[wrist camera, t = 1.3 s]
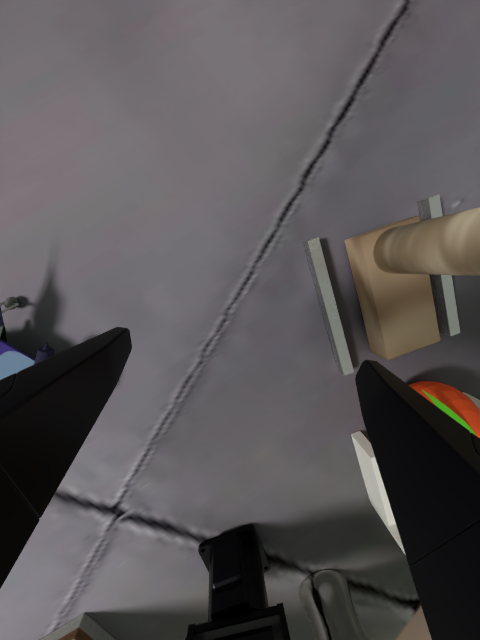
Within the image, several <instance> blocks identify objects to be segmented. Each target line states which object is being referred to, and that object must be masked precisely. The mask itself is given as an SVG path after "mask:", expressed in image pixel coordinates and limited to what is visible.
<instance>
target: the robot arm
mask: <svg viewBox="0 0 480 640" xmlns="http://www.w3.org/2000/svg"><path fill="white" fill-rule="evenodd" d="M131 349H132V344H131V337H130V331H129V329H127V328H122V327H116V328H114V329H111V330H109V331H107V332H105V333H103V334H100V335H98V336H96V337H94V338H92V339H89V340H87V341H85V342H83V343H81V344H78V345H76V346H74V347H72V348H69V349H67V350H65V351H63V352H61V353H58V354H56V355H54V356H52V357H50V358H47V359H45V360H43V361H41V362H39V363H36V364H34V365H32V366H30V367H27V368H25V369H23V370H21V371H19V372H17V374H16V373H14V374H12V375H10V376H8V377H5V378H3V379H1V380H0V588H1V587H2V585H3V583H4V581H5V580H6V578H7V576H8V574H9V573H10V571H11V569H12V567H13V566H14V564H15V562H16V560H17V559H18V557H19V555H20V553H21V552H22V550H23V548H24V546H25V545H26V543H27V541H28V539H29V538H30V536H31V534H32V532H33V531H34V529H35V527H36V525H37V524H38V522H39V518H41V516H42V515H43V513H44V511H45V509H46V508H47V506H48V504H49V502H50V501H51V499H52V497H53V495H54V494H55V492H56V490H57V488H58V487H59V485H60V483H61V481H62V480H63V478H64V476H65V474H66V473H67V471H68V469H69V467H70V466H71V464H72V462H73V460H74V459H75V457H76V455H77V453H78V452H79V450H80V448H81V446H82V445H83V443H84V441H85V439H86V438H87V436H88V434H89V432H90V431H91V429H92V427H93V425H94V424H95V422H96V420H97V418H98V417H99V415H100V413H101V411H102V410H103V408H104V406H105V404H106V403H107V401H108V399H109V397H110V396H111V394H112V392H113V390H114V388H115V387H116V385H117V382H118V380H119V378H120V376H121V373H122V371H123V369H124V366H125V364H126V362H127V359H128V357H129V355H130V352H131ZM355 380H356V386H357V391H358V396H359V402H360V407H361V412H362V416H363V420H364V423H365V427H366V430H367V433H368V436H369V439H370V443H371V446H372V449H373V452H374V455H375V459H376V462H377V465H378V468H379V471H380V475H381V478H382V481H383V484H384V487H385V491H386V494H387V497H388V500H389V503H390V507H391V510H392V513H393V516H394V519H395V522H396V526H397V529H398V532H399V535H400V538H401V542H402V545H403V548H404V551H405V554H406V558H407V561H408V564H409V565H410V567H409V568H410V571H411V574H412V577H413V581H414V584H415V587H416V590H417V593H418V597H419V600H420V603H421V606H422V609H423V613H424V616H425V619H426V622H427V625H428V628H429V632H430V635H431V638H432V640H480V438H478V437H477V436H476V435H474V434H473V433H470V431H469V430H468V429H466V428H465V427H464V426H462V425H461V424H460V423H458V422H457V421H456V420H454V419H453V418H452V417H450V416H449V415H448V414H446V413H445V412H444V411H442V410H441V409H440V408H438V407H437V406H436V405H434V404H433V403H432V402H430V401H429V400H428V399H426V398H425V397H424V396H422V395H421V394H419V393H418V392H417V391H415V390H414V389H413V388H411V387H410V386H409V385H407V384H406V383H405V382H403V381H402V380H401V379H399V378H398V377H397V376H395V375H394V374H393V373H391V372H390V371H389V370H387V369H386V368H385V367H383V366H382V365H381V364H379V363H378V362H377V361H372V360H364V361H363V363H362V364H361V366H360V368H359V370H358V372H357V374H356V379H355ZM198 551H199V554H200V556H201V558H202V560H203V562H204V564H205V566H206V568H207V570H208V572H209V606H208V622H205V623H201V624H196V625H195V623H194V624H190V625H189V627H188V633H187V637H186V639H185V640H290V636H289V631H288V626H287V621H286V617H285V612H284V607H283V603H279V604H277V606H273V607H269V606H268V599H267V593H266V586H265V580H264V572H267V571H269V570H270V562H269V560H268V558H267V555H266V553H265V551H264V548H263V546H262V544H261V541H260V539H259V537H258V534H257V532H256V530H255V527H254V526H253V525H249V526H246V527H243V528H241V529H238V530H236V531H233V532H230V533H228V534H225V535H222V536H220V537H217V538H214V539H212V540H209V541H207V542H204V543H201V544H200V545H199V550H198Z"/></svg>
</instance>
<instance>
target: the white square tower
mask: <svg viewBox="0 0 480 640" xmlns="http://www.w3.org/2000/svg"><path fill="white" fill-rule="evenodd" d="M40 640H116V639H114V638H113V637H112V636H111V635H110V634H109V633H107V632H106V631H105V630H104V629H103V628H102V627H100V626H99V625H98V624H97V623H96V622H95V621H93V620H92V619H91V618H90V617H89V616H88V615H86V614H85V613H83V614H81V615H80V616H78V617H76V618H75V619H73V620H71V621H70V622H68V623H67V624H65V625H63V626H62V627H60V628H58V629H57V630H55V631H53V632H52V633H50V634H48V635H47V636H45V637H44V638H42V639H40Z"/></svg>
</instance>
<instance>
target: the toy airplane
mask: <svg viewBox="0 0 480 640" xmlns="http://www.w3.org/2000/svg"><path fill="white" fill-rule="evenodd" d="M3 304H5V307H6V308H7V309H5V310H3V311H1V307H0V380H1V379H3V378H5V377H8V376H10V375H12V374H14V373H16V374H17V372H19V371H21V370H23V369H25V368H27V367H30V366H32V365H34V364H36V363H39V362H41V361H43V360H45V359H47V358H50V357H52V356H54V349H52V348H49V346H48V344H47V343H46V344H45V346H44V347H43V348H39V349H38V351H37V355H36V358H35V359H34V358H32V357H30V356H29V355H27V354H25V353H23V352H22V351H20V350H18V349H16V348H15V347H13V346H11V345H9V344H8V343H7V339H6V331H5V326H4V323H3V317H2V313H3V312H5V311H7V310H9V309H10V310H11V309H14V308H16V306H18V305H19V304H18V301H17V299H16V298H15V297H9V298H7V299H6V301H4V302H2V303H0V306H1V305H3Z"/></svg>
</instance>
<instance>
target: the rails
mask: <svg viewBox="0 0 480 640" xmlns="http://www.w3.org/2000/svg"><path fill="white" fill-rule="evenodd" d="M418 208H419V214H420V220H421V221H424V220H428V219H432V218H437V217H441V216H443V215H442V208H441V202H440V195H439V194H438V195H435V196H432V197H429V198H427V199H424V200H421V201H418ZM303 246H304V249H305V253H306V256H307V260H308V264H309V267H310V271H311V274H312V278H313V282H314V285H315V289H316V292H317V296H318V300H319V303H320V307H321V310H322V314H323V318H324V321H325V325H326V328H327V332H328V336H329V339H330V343H331V346H332V350H333V354H334V357H335V361H336V364H337V368H338V371H339V372H340V373H341V374H343V375H344V376H345V375H348V374H351V373H353V372H354V370H353V366H352V363H351V359H350V355H349V351H348V347H347V344H346V340H345V336H344V332H343V328H342V325H341V321H340V317H339V313H338V309H337V305H336V302H335V298H334V294H333V290H332V286H331V283H330V279H329V275H328V271H327V267H326V264H325V260H324V256H323V252H322V248H321V244H320V241H319V237H318V238H315V239H312V240H309V241H306V242H303ZM430 278H431V284H432V290H433V296H434V302H435V308H436V313H437V319H438V325H439V331H440V334H444V335H447V336H453V335H456V334H459V333H460V327H459V321H458V314H457V307H456V301H455V294H454V288H453V281H452V275H430Z"/></svg>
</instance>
